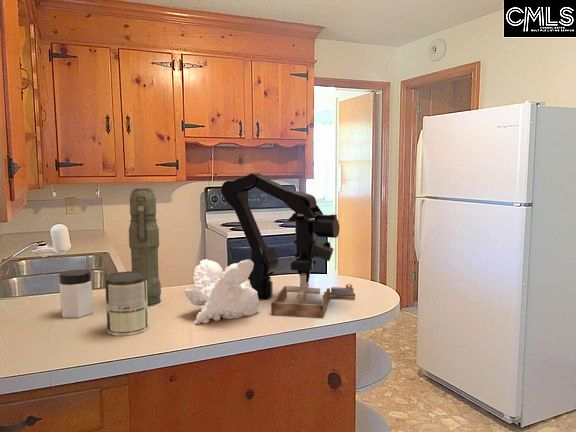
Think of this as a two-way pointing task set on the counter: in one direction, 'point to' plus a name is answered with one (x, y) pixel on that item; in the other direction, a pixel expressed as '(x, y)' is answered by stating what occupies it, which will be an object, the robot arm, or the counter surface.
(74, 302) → the jar
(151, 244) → the thermos
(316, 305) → the dock cradle
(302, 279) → the pipe connector
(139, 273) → the coffee can
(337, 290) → the pin
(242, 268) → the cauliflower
